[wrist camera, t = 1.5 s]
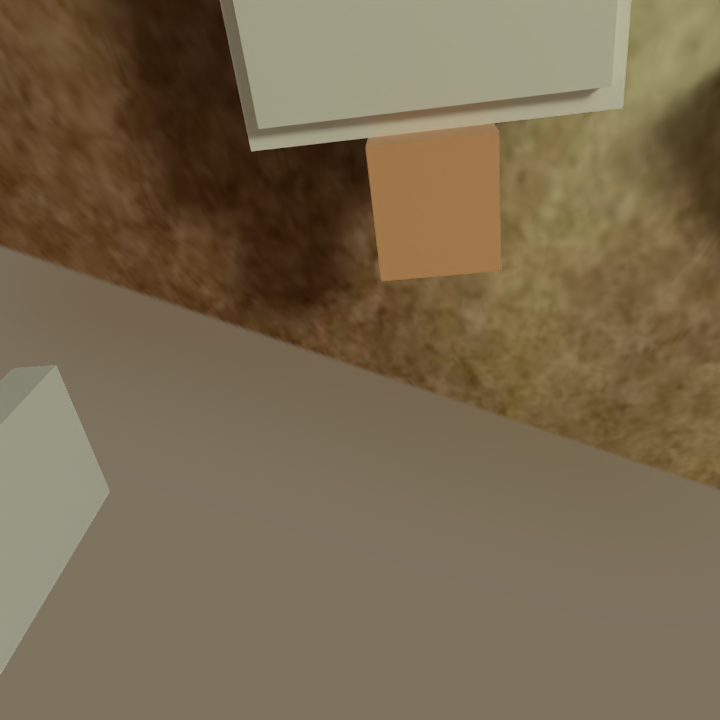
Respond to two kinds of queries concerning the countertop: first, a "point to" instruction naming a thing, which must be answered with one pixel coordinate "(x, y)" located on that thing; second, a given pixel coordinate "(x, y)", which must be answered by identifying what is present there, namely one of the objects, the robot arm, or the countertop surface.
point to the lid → (424, 101)
